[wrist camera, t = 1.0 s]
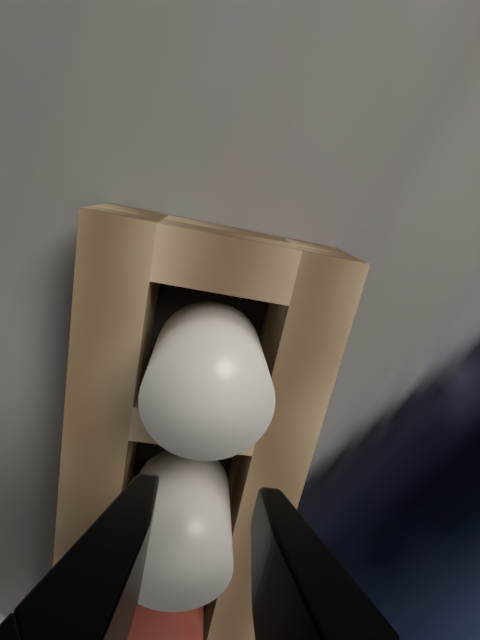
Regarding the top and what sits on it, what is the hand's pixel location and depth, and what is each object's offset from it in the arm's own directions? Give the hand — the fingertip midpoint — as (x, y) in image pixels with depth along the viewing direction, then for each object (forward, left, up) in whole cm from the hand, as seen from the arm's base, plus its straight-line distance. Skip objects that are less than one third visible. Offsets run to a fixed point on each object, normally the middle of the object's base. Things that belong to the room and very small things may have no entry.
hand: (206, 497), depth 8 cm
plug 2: (0, +6, -8) cm, 10 cm away
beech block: (0, +6, -11) cm, 13 cm away
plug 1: (0, 0, -8) cm, 8 cm away
